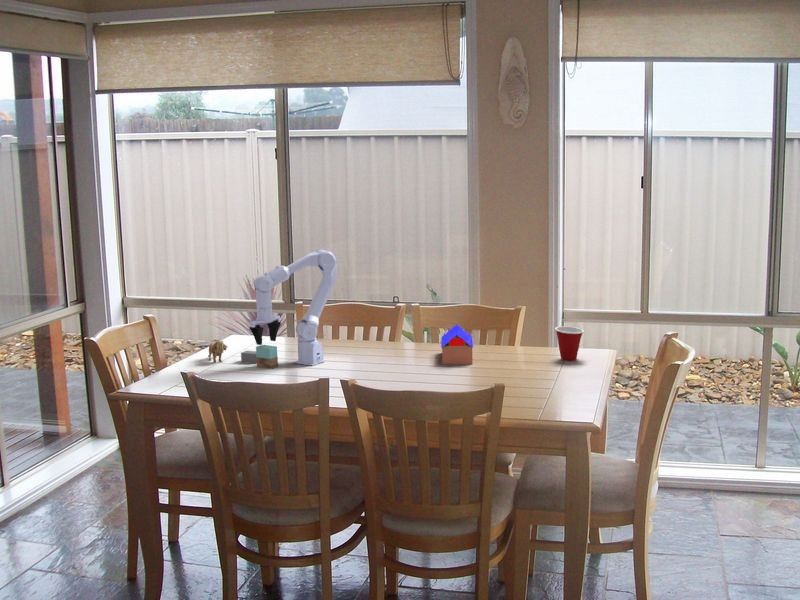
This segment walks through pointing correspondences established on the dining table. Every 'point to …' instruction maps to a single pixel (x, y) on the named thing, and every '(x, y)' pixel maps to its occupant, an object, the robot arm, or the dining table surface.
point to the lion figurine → (216, 350)
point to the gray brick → (248, 357)
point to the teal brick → (266, 351)
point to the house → (457, 347)
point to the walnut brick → (267, 362)
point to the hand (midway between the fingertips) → (266, 342)
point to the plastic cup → (568, 342)
